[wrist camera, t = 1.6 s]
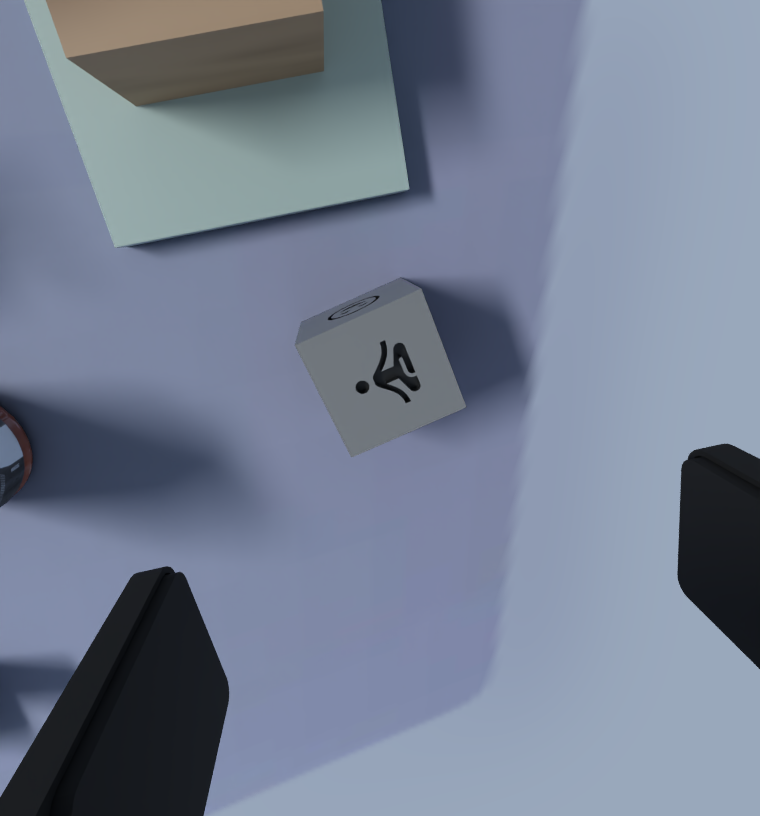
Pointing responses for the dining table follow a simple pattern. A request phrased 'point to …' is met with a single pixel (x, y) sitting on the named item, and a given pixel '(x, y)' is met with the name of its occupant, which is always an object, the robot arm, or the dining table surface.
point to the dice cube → (379, 365)
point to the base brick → (189, 43)
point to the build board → (239, 137)
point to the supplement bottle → (13, 457)
